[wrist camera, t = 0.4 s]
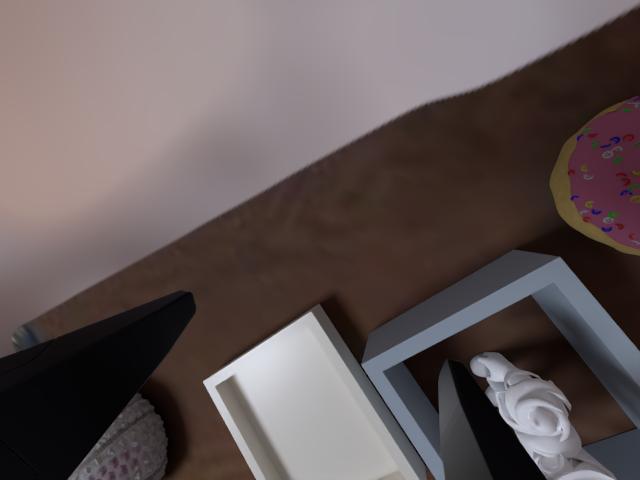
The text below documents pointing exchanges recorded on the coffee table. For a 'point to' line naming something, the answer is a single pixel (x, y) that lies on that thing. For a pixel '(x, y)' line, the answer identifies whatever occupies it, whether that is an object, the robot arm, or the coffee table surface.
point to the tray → (310, 409)
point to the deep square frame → (484, 300)
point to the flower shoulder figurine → (538, 419)
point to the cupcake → (603, 178)
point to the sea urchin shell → (128, 447)
